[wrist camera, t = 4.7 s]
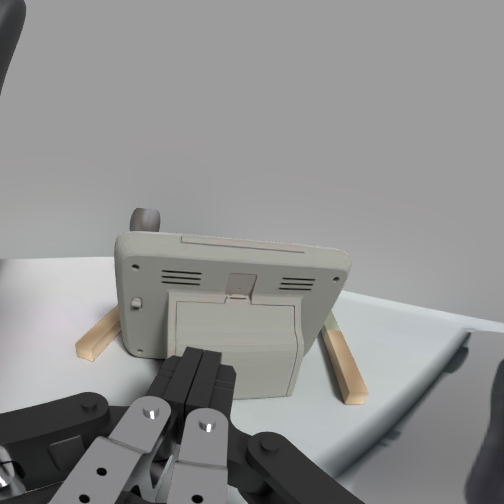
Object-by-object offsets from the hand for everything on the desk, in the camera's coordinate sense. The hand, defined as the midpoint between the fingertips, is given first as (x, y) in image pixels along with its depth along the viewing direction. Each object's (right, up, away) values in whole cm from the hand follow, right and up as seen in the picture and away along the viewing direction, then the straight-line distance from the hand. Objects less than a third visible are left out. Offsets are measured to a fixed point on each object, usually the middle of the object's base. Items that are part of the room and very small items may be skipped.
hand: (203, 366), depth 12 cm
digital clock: (0, -4, +11) cm, 12 cm away
